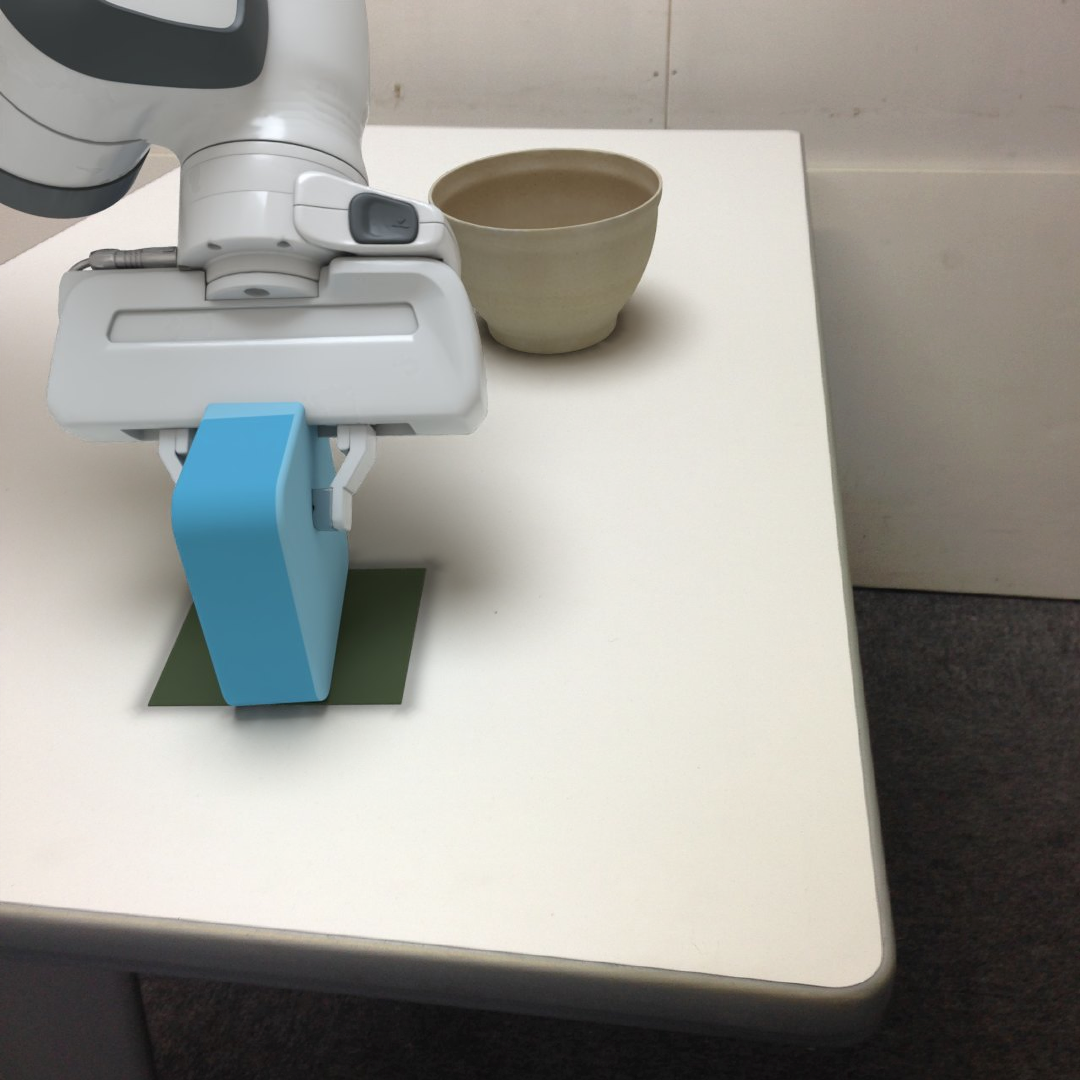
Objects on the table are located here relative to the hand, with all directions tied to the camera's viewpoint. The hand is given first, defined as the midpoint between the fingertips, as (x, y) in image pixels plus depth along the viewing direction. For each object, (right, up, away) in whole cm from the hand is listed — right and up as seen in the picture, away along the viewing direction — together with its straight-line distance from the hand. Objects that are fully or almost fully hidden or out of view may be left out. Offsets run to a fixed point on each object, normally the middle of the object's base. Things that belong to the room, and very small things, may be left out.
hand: (268, 531), depth 50 cm
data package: (0, -5, +5) cm, 7 cm away
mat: (0, -5, +5) cm, 7 cm away
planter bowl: (+13, +15, +31) cm, 37 cm away
